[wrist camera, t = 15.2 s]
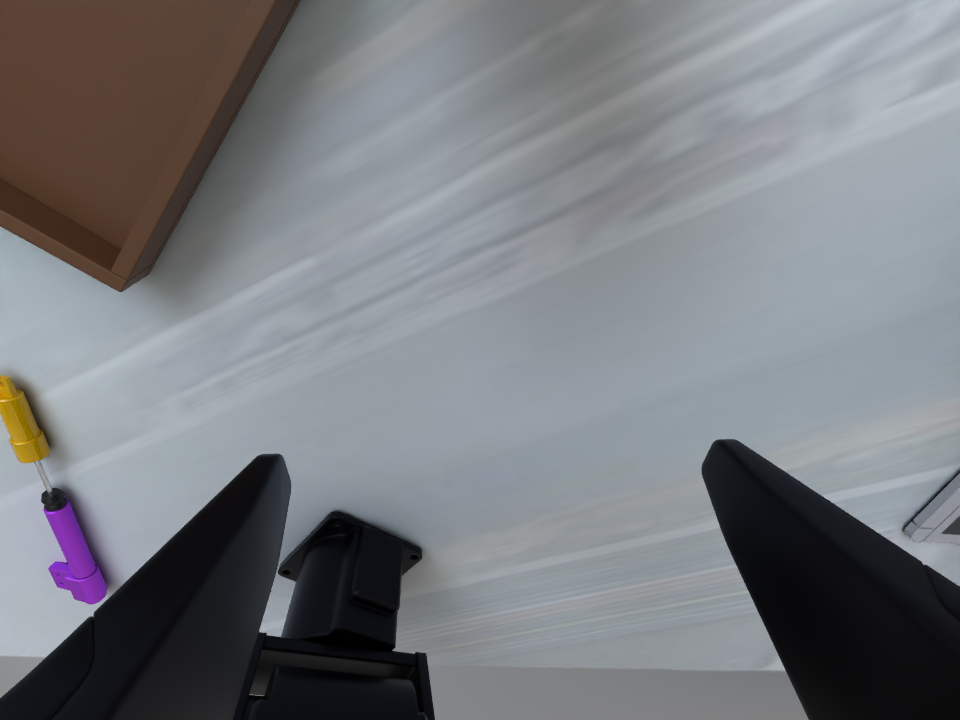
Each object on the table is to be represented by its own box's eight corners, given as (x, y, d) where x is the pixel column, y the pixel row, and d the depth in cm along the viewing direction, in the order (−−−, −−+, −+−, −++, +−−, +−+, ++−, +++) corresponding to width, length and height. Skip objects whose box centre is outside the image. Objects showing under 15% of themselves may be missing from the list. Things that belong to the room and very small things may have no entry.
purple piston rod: (114, 592, 28) (27, 372, 20) (97, 610, 27) (-2, 386, 19) (73, 581, 28) (-30, 359, 20) (55, 599, 27) (-62, 373, 19)
